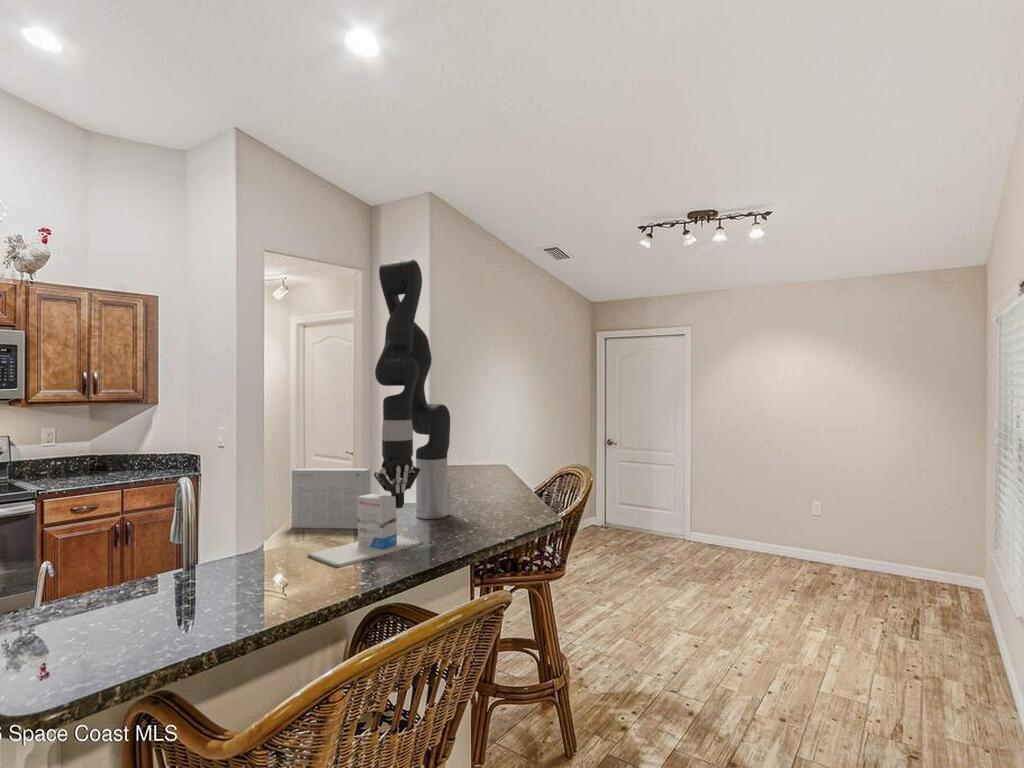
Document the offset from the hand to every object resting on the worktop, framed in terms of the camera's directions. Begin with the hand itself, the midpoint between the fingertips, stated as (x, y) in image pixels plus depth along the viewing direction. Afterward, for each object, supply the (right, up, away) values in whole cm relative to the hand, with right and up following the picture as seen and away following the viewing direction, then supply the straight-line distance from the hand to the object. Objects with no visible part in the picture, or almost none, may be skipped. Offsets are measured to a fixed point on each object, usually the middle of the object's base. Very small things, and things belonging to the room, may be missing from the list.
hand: (397, 507), depth 143 cm
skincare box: (-22, -9, +17) cm, 29 cm away
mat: (-6, -9, -7) cm, 12 cm away
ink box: (-4, -8, -4) cm, 10 cm away
